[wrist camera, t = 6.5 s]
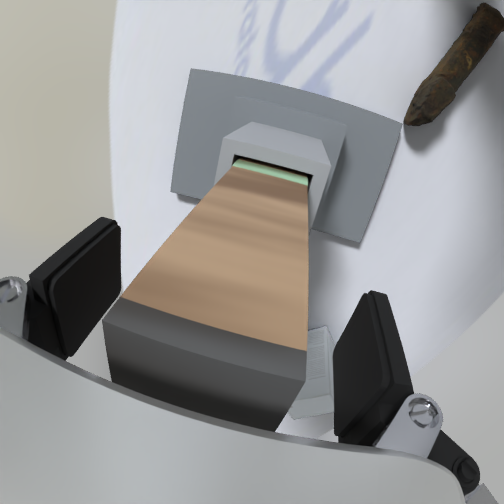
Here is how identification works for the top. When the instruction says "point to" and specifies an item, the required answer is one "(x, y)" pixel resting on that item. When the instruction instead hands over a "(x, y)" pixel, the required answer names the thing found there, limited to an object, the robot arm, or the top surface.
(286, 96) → the stand base
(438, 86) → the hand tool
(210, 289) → the post
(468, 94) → the top surface
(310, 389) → the skincare box
